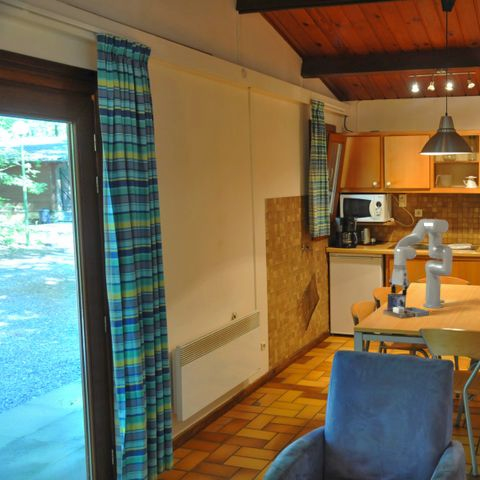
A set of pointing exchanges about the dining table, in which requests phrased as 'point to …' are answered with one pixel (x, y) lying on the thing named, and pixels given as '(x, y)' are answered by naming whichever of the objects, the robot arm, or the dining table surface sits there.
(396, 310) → the letter cube
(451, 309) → the dining table surface
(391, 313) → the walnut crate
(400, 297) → the small box
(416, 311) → the charcoal tray
